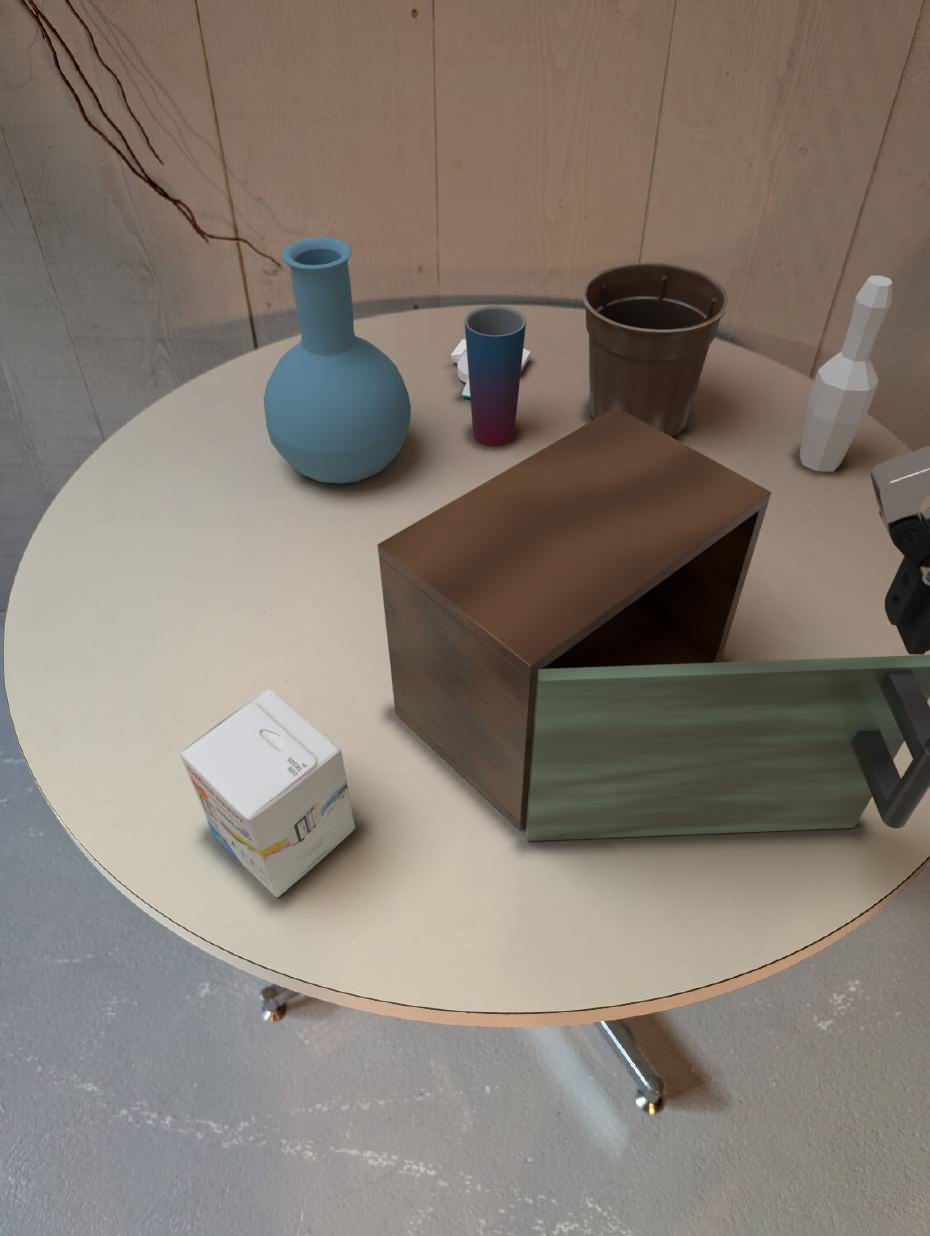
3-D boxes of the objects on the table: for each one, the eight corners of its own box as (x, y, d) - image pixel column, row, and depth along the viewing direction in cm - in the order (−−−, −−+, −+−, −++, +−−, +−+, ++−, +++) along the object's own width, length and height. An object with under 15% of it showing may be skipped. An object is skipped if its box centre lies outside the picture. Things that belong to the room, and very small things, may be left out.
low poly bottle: (844, 481, 104) (911, 300, 88) (788, 469, 105) (843, 289, 90) (850, 450, 108) (915, 272, 92) (795, 439, 110) (850, 261, 94)
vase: (414, 416, 114) (402, 214, 95) (413, 500, 102) (399, 289, 84) (282, 419, 113) (244, 218, 95) (265, 504, 102) (220, 293, 84)
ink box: (209, 834, 73) (173, 750, 65) (290, 769, 77) (267, 682, 69) (276, 902, 69) (248, 822, 61) (358, 829, 73) (343, 745, 65)
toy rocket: (473, 333, 127) (473, 318, 126) (540, 345, 125) (540, 330, 123) (431, 392, 117) (430, 376, 116) (502, 407, 115) (502, 391, 113)
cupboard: (720, 663, 85) (772, 491, 70) (519, 830, 73) (530, 666, 58) (594, 575, 94) (616, 406, 79) (394, 713, 81) (376, 544, 67)
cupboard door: (884, 908, 68) (995, 753, 54) (534, 922, 68) (550, 770, 53) (849, 817, 74) (942, 653, 59) (525, 830, 73) (537, 668, 58)
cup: (461, 447, 109) (459, 333, 98) (470, 415, 114) (469, 303, 103) (517, 453, 108) (522, 338, 97) (524, 420, 113) (529, 307, 102)
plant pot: (553, 437, 110) (562, 313, 99) (592, 370, 120) (605, 251, 109) (685, 467, 106) (711, 342, 94) (715, 395, 116) (741, 274, 104)
